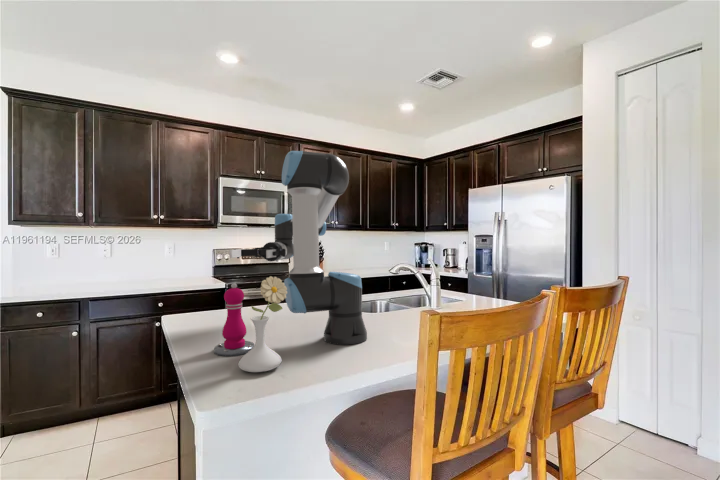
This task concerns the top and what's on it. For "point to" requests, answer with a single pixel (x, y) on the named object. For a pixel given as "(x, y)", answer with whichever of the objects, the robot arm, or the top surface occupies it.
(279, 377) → the top surface
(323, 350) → the top surface
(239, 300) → the pepper mill
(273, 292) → the flower in vase
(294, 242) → the robot arm
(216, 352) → the flange plate
